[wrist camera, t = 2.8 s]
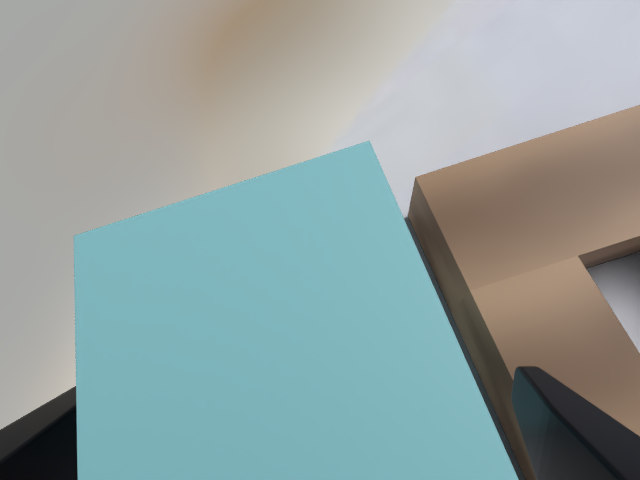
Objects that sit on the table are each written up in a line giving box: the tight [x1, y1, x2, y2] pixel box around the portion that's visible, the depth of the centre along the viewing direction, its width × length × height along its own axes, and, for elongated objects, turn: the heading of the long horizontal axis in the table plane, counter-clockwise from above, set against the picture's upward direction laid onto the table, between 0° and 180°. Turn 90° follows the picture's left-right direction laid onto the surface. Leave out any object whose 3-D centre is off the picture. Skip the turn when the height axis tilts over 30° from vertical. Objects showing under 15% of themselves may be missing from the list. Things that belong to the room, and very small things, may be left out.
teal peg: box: [74, 141, 519, 480], centre depth 10 cm, size 4×4×13 cm
